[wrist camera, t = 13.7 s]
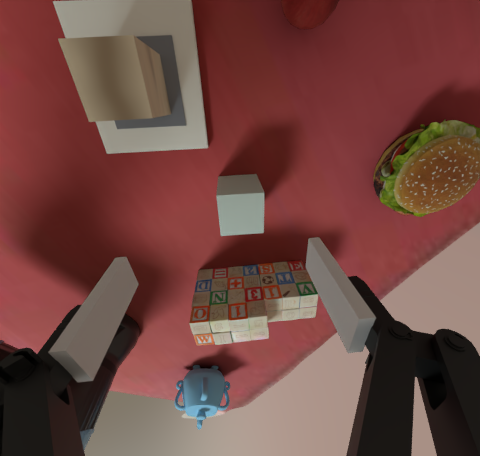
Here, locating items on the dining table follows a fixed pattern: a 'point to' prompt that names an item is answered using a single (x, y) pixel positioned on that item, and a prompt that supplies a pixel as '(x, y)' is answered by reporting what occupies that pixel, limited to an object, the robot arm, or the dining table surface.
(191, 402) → the teapot
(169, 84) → the white square base plate
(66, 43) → the beech block
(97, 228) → the dining table surface
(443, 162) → the food
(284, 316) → the stack of blocks
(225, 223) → the sage block
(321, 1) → the onion
